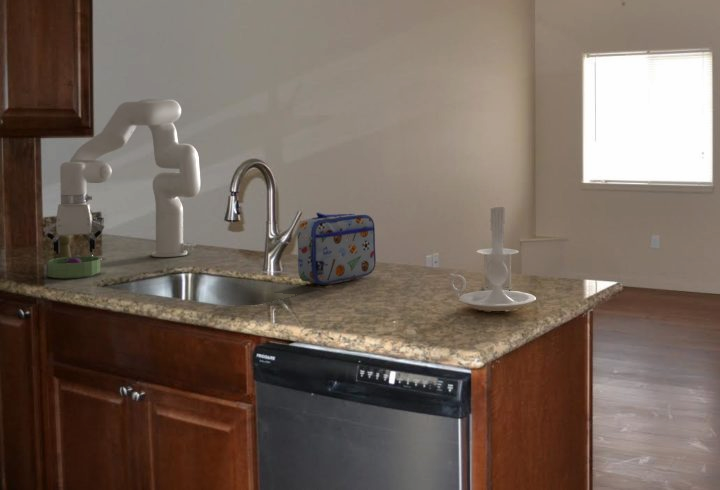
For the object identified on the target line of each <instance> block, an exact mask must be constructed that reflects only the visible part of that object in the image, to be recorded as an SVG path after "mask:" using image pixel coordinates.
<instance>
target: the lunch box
mask: <svg viewBox="0 0 720 490" xmlns="http://www.w3.org/2000/svg"><path fill="white" fill-rule="evenodd" d="M374 221H375V220H374V219H373V218H372V217H371V216H370V215H368V214H355V213H338V214H337V213H336V214H335V213H334V214H325V213H322V212H316V217H312V218H307V219H304V220H302V221H301V222H299V224H298V226H297V230H296V232H297V233H296V238H297V265H298V266H297V269H298V270H297V271H298V276H299V279H300V280H301V281H302V282H308V283H312V284H317V285H321V286H329V285H334V284H339V283H346V282H349V281H352V280H356V279H360V278H364V277H367V276H368V275H370V274H372V273H373V271H374V270H375V268H376V264H377V263H376V262H377V260H376V259H377V257H376V233H375V232H376V231H375V222H374Z"/></svg>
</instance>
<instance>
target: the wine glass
mask: <svg viewBox="0 0 720 490" xmlns="http://www.w3.org/2000/svg"><path fill="white" fill-rule="evenodd" d="M92 221H95V222H97V223H100V224H102V225H104V226H105V217H99V216H98V217H97V216H96V217H95V216H94V217H93V216H92ZM98 229H99V228H98V227H96V226H93V225H92V231H91V232H92V233H93V234H95V233H96V232H97V231H98ZM103 231H104V229H103V230H102V232H101V234H100V235H99V236H98V237H97V238H96V239H95V242H96V241H97V240H98V239H99V238H100V236H101V235H102V234H103ZM82 237H83V238H84V239H85V240H86V241H87V242H88V244H89V245H90V239H91V238H90V237H89V236H88V235H87V234H84V235H82ZM89 256H94V251H93V252H90V255H89ZM99 258H100V261H101V260H103V258H102V257H99Z"/></svg>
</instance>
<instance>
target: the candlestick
mask: <svg viewBox="0 0 720 490" xmlns="http://www.w3.org/2000/svg"><path fill="white" fill-rule="evenodd" d="M505 210H506V209H505V207H504V206H497V205H495V207H490V220H489V221H490V232H491V247H490V248H491V249H488V248H481V249H477V250H475V253H477V254H480V255H483V256H484V255H486V256H488V257H490V258H491V264H490V266H489V268H488V270H487V277H488V279H489V281H490V282H491V283H492V284H493V290H477V291H471V292H466V293H464V294H461V295H460V293H462V292H463V291H464V290H465V289H466V287H467V281H466V278H465V277H464V276H463V275H461V274H454V273H448V276H449V277H451V278H450V282H449V283H450V284H449V285H450V288H451V289H452V290H453V291H454V294H455V297H456V298H457V300H459V302H462V303H465V305H467V306H468V307H470V308H472V309H474V310H477V309H478V310H477V311H481V310H485V311H484V312H487V313H492V312H491V311H505V312H504V313H507V312H508V313H510V311H506V310H514V309H518V310H520V309H519V308H521V309H523V308H525V307H526V306H528V305H530V304H531V303H534V302H535V301H536V300H537V297H536V296H535V295H533V294H531V293H527V292H523V291H517V290H510V291H508V290H502V284H503V283H504V282H505V281H506V279H507V277H508V270H507V267H506V266H505V264H504V259H505V258H506V257H507V256H510V255H511V256H512V255H515V254H518V253H520V251H519V250H517V249H513V248H507V249H503V248H504V229H505V228H504V227H505V226H504V225H505V219H506V218H505V217H506V216H505V215H506V213H505V212H506V211H505ZM456 279H460V280H461V281H462V287H461V288H457V287H455V284H454V282H455V280H456ZM522 307H523V308H522ZM514 311H515V310H514Z"/></svg>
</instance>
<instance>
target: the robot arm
mask: <svg viewBox="0 0 720 490" xmlns="http://www.w3.org/2000/svg"><path fill="white" fill-rule="evenodd" d="M181 115H182V107H181V105H180V103H179V102H178V101H177V100H175V99H172V98H171V99H168V98H167V99H166V98H165V99H163V98H159V99H158V98H157V99H156V98H154V99H153V98H148V99H147V98H146V99H140V100H138V101H124V102H122V103H121V104H119V105H118V107H117V108H116V110H115V111H114V112H113V115H112V116H111V118H110V119H109V120H108V122H107V124H106V125H105V126H104V128H103V129H102V131H100V133H98V134H96V135H95V136H93V137H92V138H90V139H88V141H86V142H85V143H83V144H82V145H80V146H79V148H78V149H77V150H76V151H75V153H74V154H73V155H72V157H71V158H70V159H69V161H65V162H62V163H61V164H60V166H59V167H60V168H59V169H60V170H59V172H60V174H59V175H60V204H58V205H57V210H56V220H55V222H54V223H52V224H49V225H47V226H45V227H44V228H43V232H44V233H45V235H46V237H47V238H48V239H50V240H51V241H52V242H53V251H54V252H55V251H56V254H59V252H60V246H59V240H58V238H59V237H60V236H61V235H69V236H79V235H80V236H83V235H84V234H87V235H88V236H89V237H90V238H91V239H90V244H89V252H90V253H91V252H93V253H94V250H95V249H96V241H95V239H96V238H97V237H98V236H99V235H100V234H101V232H102V230H103V231H104V229H105V224H104V225H102V224H100V223H97V222H95V221H92V217H93V213H92V207H91V203H89V201H93V195H88V183H90V184H102V183H105V182H106V181H108V180H110V178H111V177H112V174H113V169H112V167H111V165H110V164H109V163H108V162H106V161H104V160H99V159H98V158H100V157H102V156H103V155H106V154H108V153H112V152H114V151H117V150H119V149H121V148H123V147H125V146H126V145H127V143H128V141H129V140H130V138H131V137H132V135H133V133H135V130H136V128H137V127H138V126H139V127H140V126H147V127H148V128H149V130H150V132H151V135H152V145H153V154H154V161H155V164H156V166H157V167H158V168H162V169H169V170H170V169H172V170H179V171H162V172H159V173H158V174H156V175H155V177H154V178H153V180H152V191H153V195H154V201H155V251H152V252H151V253H150V256H151V257H154V258H176V257H182V256H187V255H188V250H197V244H196V243H194V244H193V243H190V244H189V243H185V241H184V207H183V204H182V201H181V200H180V198H185V199H186V198H188V199H189V198H194V197H196V196H197V195H198V194H199V192H200V191H201V186H202V185H201V184H202V183H201V182H202V181H201V169H200V159H199V154H198V150H197V149H196V147H194V146H193V145H192V144H190V143H179V139H178V132H177V131H178V130H177V128H176V126H175V124H174V123H176V121H178V120H179V119H180V118H181ZM97 159H98V160H97ZM92 225H93V226H96V227H98V228H99V229H98V231H97V232H96V233H95V234H93V233H92V232H91V231H92ZM54 228H55V230H56V231H55V232H56V234H53V233H52V232H51V230H52V229H54ZM102 233H103V232H102ZM101 235H102V234H101ZM101 235H100V236H101ZM100 236H99V237H100ZM99 237H98V238H99ZM98 238H97V239H98Z"/></svg>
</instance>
